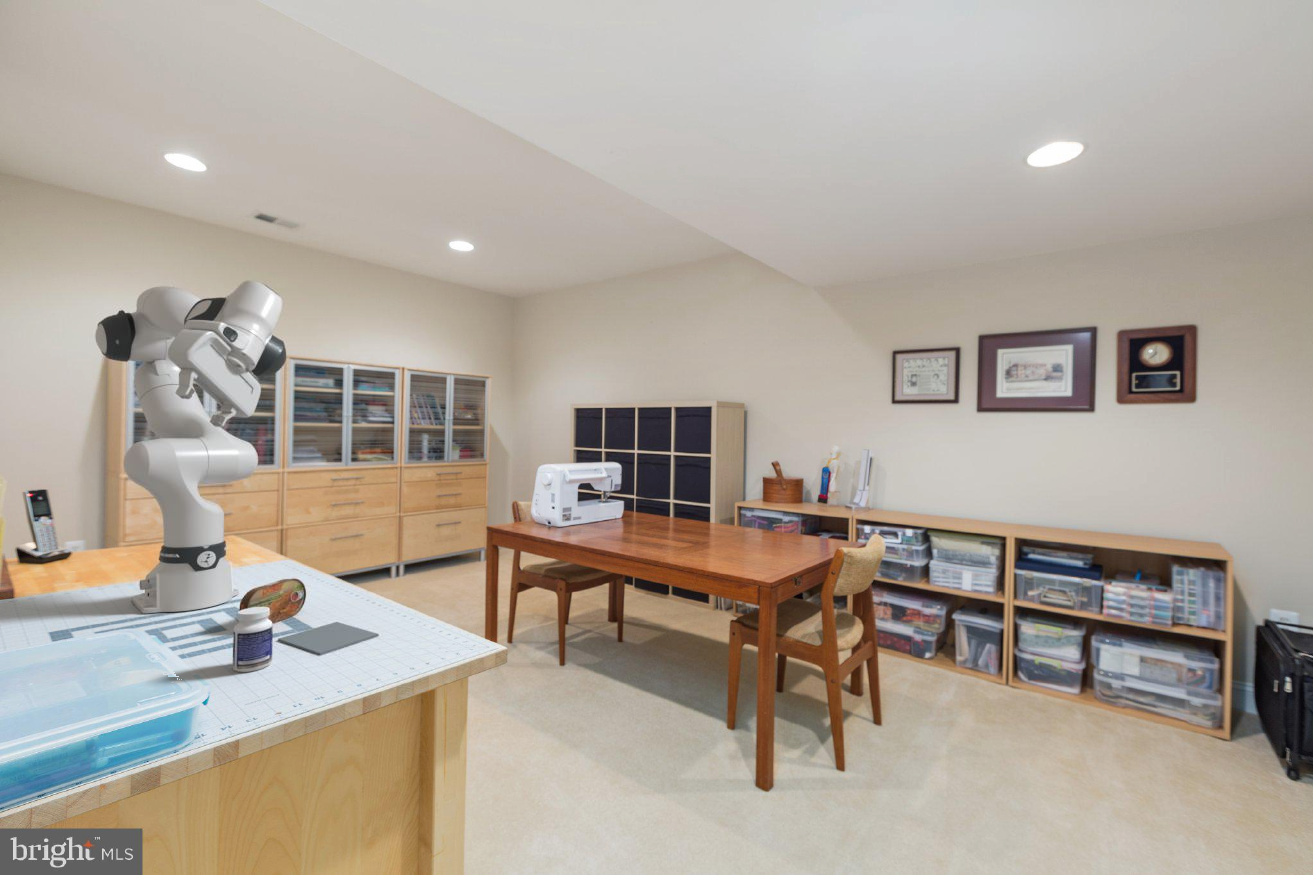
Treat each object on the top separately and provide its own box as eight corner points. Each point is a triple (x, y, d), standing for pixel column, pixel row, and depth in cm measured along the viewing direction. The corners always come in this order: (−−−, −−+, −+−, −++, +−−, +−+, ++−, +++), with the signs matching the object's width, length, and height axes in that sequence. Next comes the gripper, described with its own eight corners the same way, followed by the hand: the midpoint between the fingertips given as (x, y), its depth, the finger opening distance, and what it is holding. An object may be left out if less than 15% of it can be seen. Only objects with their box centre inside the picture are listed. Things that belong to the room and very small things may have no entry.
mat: (277, 640, 113) (277, 638, 113) (336, 623, 124) (336, 621, 124) (320, 655, 106) (320, 653, 106) (378, 635, 117) (378, 633, 117)
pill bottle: (279, 662, 103) (280, 607, 102) (247, 675, 97) (249, 616, 97) (256, 658, 104) (257, 603, 104) (224, 670, 99) (225, 612, 99)
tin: (248, 633, 117) (249, 592, 117) (235, 632, 117) (236, 591, 117) (307, 611, 131) (307, 574, 131) (295, 610, 132) (296, 573, 132)
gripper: (246, 381, 119) (217, 439, 112) (180, 313, 101) (141, 377, 94) (277, 383, 119) (250, 441, 112) (216, 316, 101) (180, 379, 94)
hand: (199, 411), depth 103 cm, fingers open, 8 cm apart
